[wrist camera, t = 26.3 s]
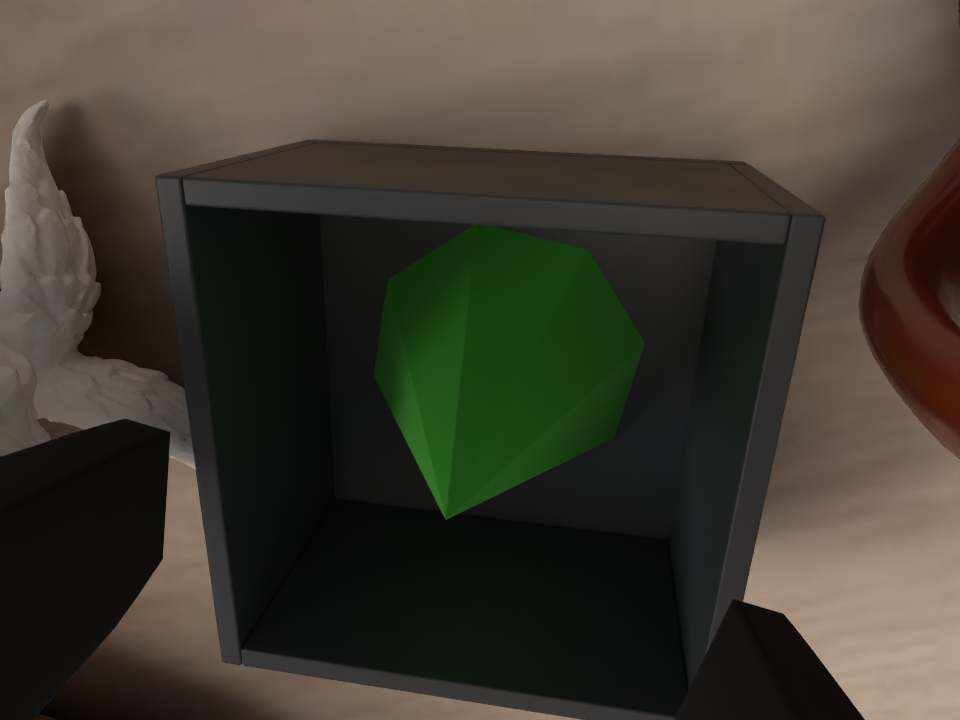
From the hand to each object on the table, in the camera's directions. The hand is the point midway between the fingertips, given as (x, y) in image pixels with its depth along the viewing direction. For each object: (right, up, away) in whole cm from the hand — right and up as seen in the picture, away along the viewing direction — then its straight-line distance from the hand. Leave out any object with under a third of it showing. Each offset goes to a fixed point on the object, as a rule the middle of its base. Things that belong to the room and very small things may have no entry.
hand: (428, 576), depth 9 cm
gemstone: (+1, +3, +7) cm, 7 cm away
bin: (+1, +3, +7) cm, 8 cm away
